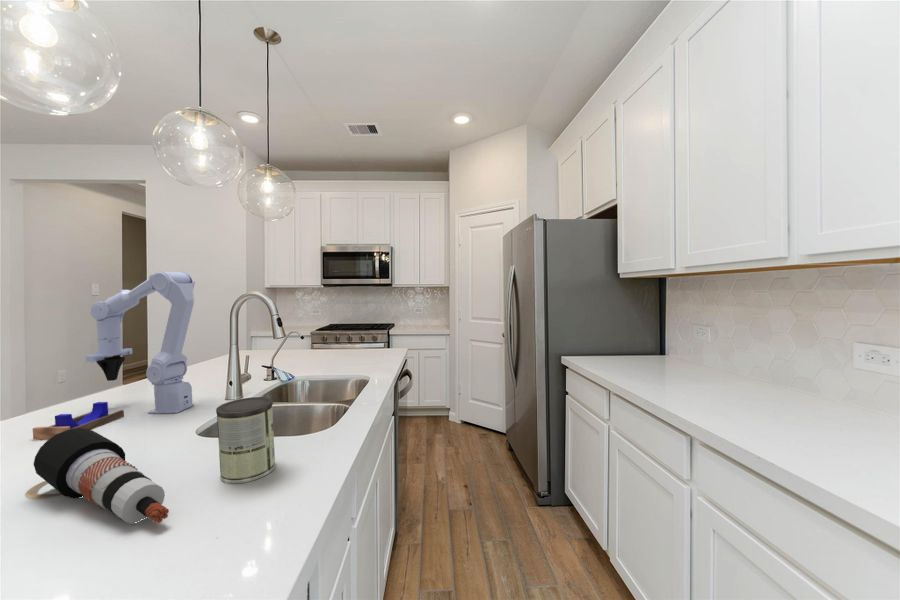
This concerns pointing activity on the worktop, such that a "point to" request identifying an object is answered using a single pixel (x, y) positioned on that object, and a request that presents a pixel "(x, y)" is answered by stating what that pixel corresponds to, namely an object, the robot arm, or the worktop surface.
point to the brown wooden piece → (51, 431)
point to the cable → (99, 475)
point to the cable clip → (97, 412)
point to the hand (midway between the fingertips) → (112, 380)
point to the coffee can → (245, 439)
